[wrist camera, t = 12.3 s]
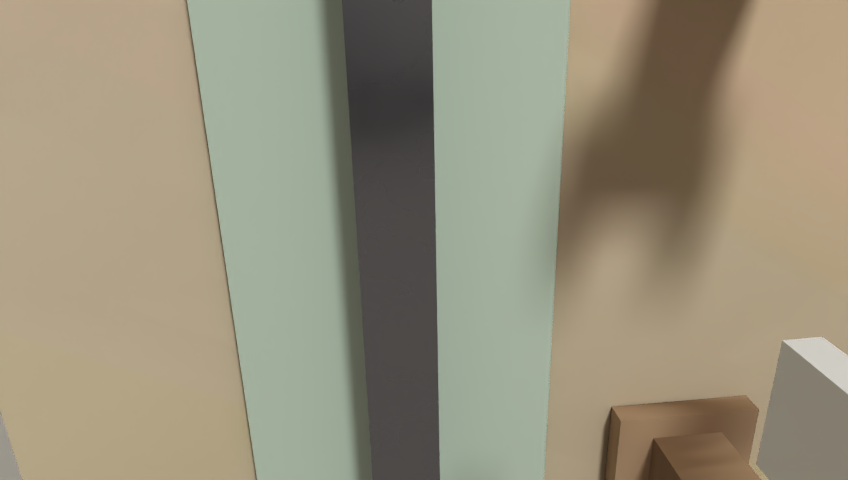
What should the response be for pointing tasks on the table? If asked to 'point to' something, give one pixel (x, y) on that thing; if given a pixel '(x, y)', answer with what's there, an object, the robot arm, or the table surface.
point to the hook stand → (682, 440)
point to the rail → (396, 228)
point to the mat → (337, 235)
